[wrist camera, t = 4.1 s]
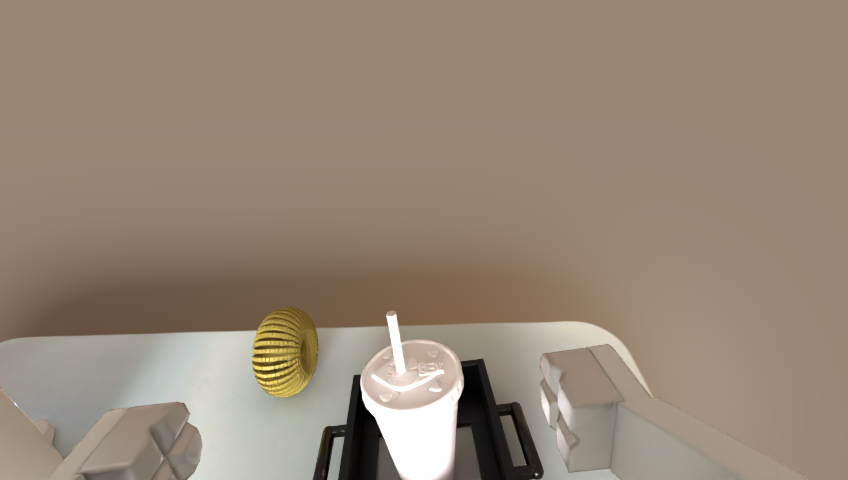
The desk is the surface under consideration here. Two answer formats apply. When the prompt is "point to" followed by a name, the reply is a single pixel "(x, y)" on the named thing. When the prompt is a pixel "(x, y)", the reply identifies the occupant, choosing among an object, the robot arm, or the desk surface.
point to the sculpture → (285, 352)
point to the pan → (472, 410)
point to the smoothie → (415, 403)
